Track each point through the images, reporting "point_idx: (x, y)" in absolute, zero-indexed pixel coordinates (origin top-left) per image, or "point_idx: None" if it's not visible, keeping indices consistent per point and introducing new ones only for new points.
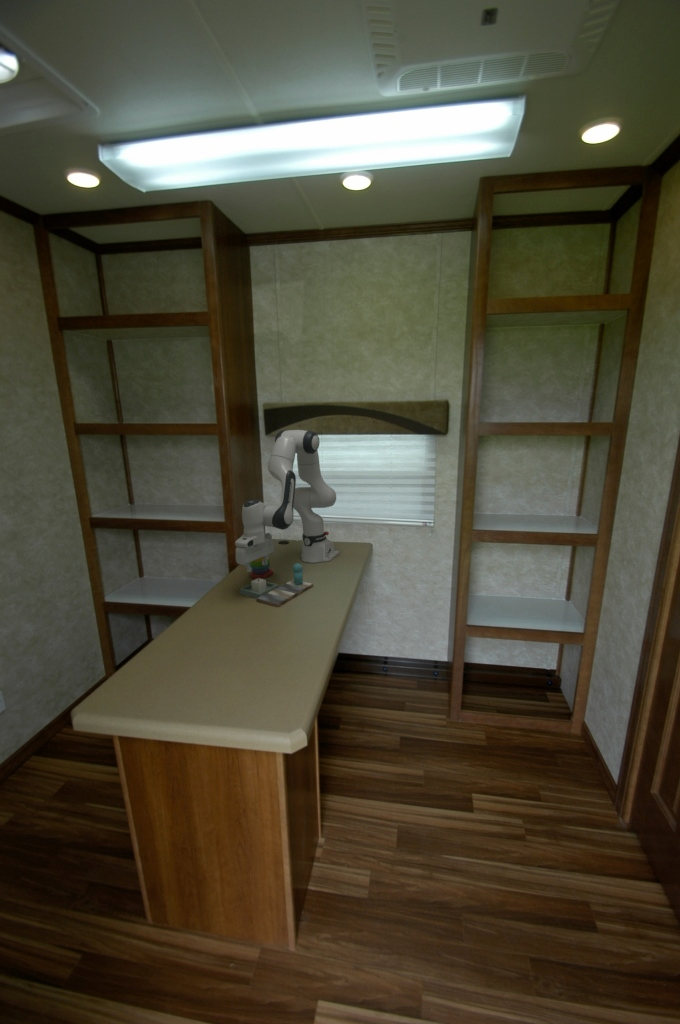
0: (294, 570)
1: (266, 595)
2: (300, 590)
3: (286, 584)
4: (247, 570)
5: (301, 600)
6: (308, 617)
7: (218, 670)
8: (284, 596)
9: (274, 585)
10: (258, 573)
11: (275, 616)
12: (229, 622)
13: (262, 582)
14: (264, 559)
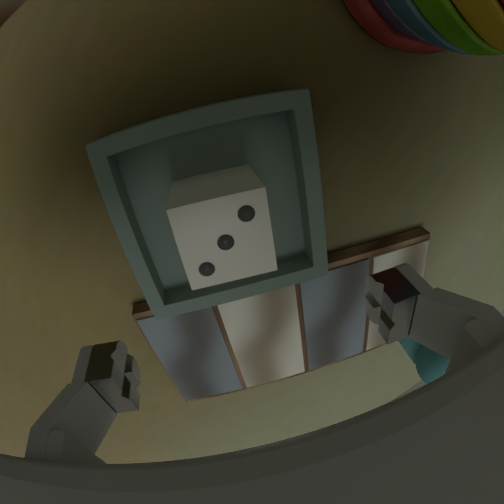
0: (418, 364)
1: (194, 322)
2: (339, 359)
3: (366, 273)
4: (84, 364)
5: (285, 391)
6: (219, 449)
7: (4, 445)
8: (252, 373)
9: (303, 273)
10: (378, 7)
11: (145, 419)
12: (4, 364)
13: (235, 275)
14: (430, 318)
